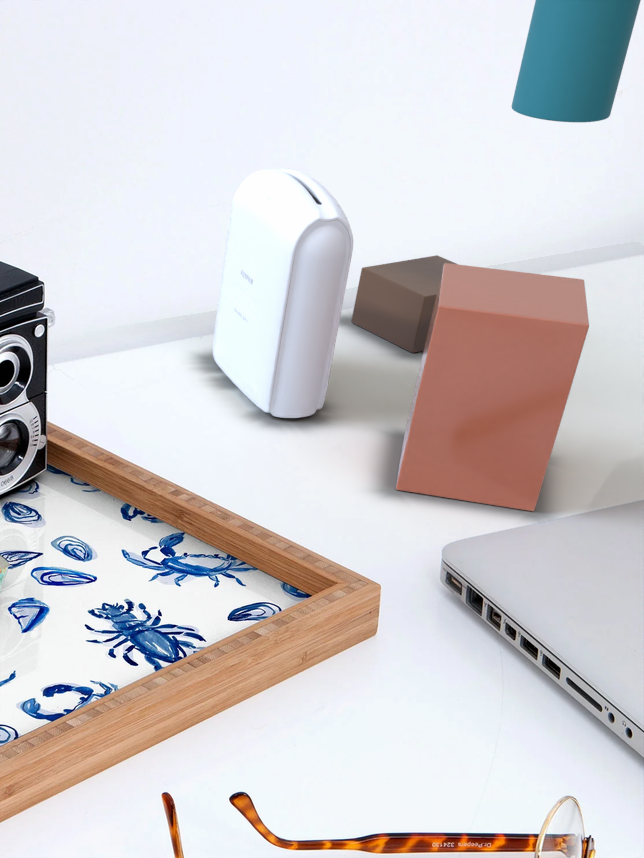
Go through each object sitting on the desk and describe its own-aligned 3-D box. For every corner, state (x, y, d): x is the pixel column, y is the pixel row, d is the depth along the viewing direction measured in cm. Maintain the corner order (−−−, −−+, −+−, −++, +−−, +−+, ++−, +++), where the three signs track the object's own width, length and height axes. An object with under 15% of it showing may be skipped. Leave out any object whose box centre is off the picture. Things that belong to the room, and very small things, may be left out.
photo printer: (201, 356, 92) (229, 152, 85) (265, 352, 93) (298, 150, 86) (261, 424, 84) (298, 204, 77) (331, 419, 85) (374, 202, 77)
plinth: (533, 457, 81) (584, 279, 75) (534, 512, 76) (589, 325, 70) (403, 437, 83) (444, 262, 77) (395, 490, 77) (438, 305, 72)
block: (412, 353, 93) (425, 296, 91) (350, 322, 98) (361, 267, 95) (488, 338, 96) (502, 282, 94) (424, 308, 100) (437, 254, 98)
